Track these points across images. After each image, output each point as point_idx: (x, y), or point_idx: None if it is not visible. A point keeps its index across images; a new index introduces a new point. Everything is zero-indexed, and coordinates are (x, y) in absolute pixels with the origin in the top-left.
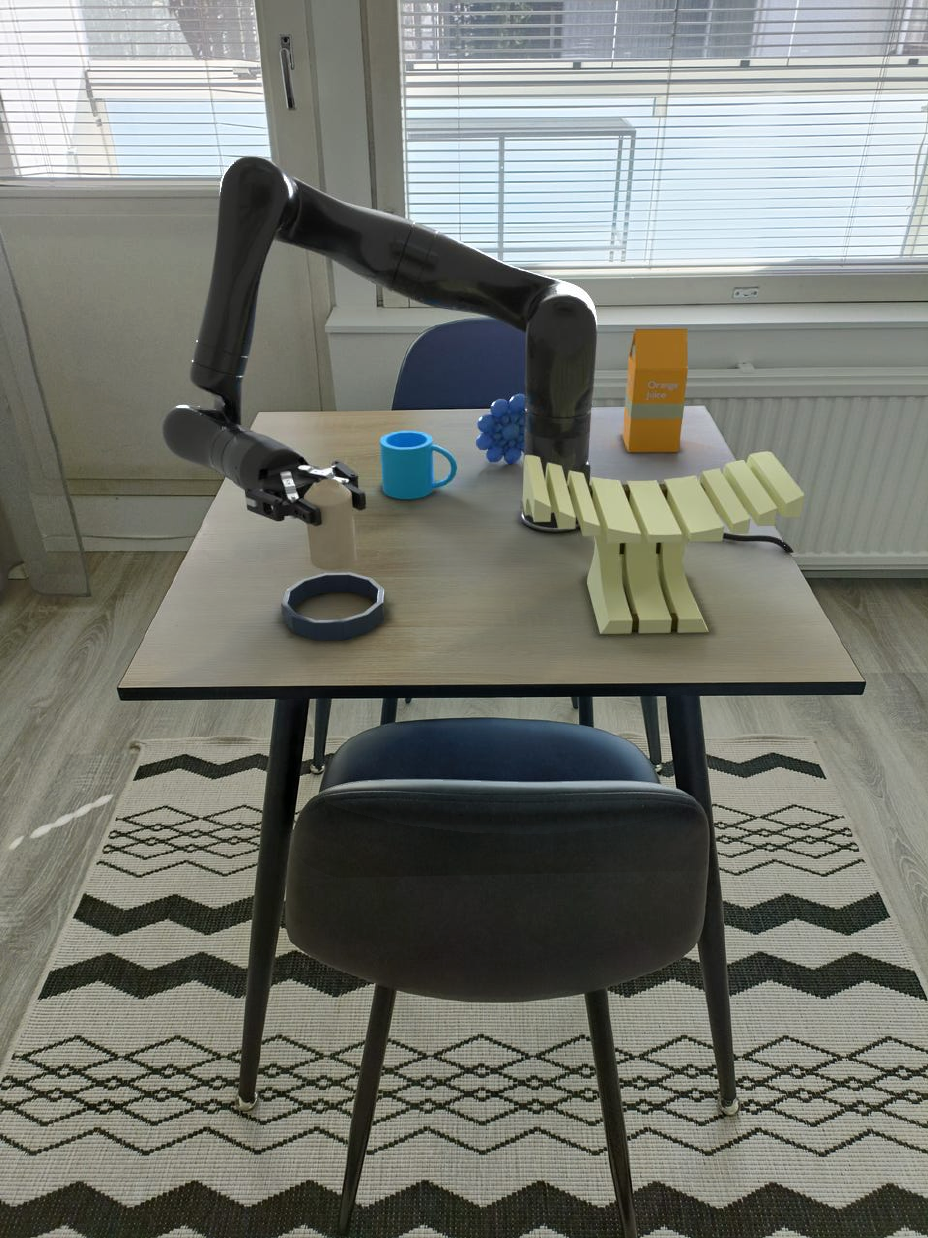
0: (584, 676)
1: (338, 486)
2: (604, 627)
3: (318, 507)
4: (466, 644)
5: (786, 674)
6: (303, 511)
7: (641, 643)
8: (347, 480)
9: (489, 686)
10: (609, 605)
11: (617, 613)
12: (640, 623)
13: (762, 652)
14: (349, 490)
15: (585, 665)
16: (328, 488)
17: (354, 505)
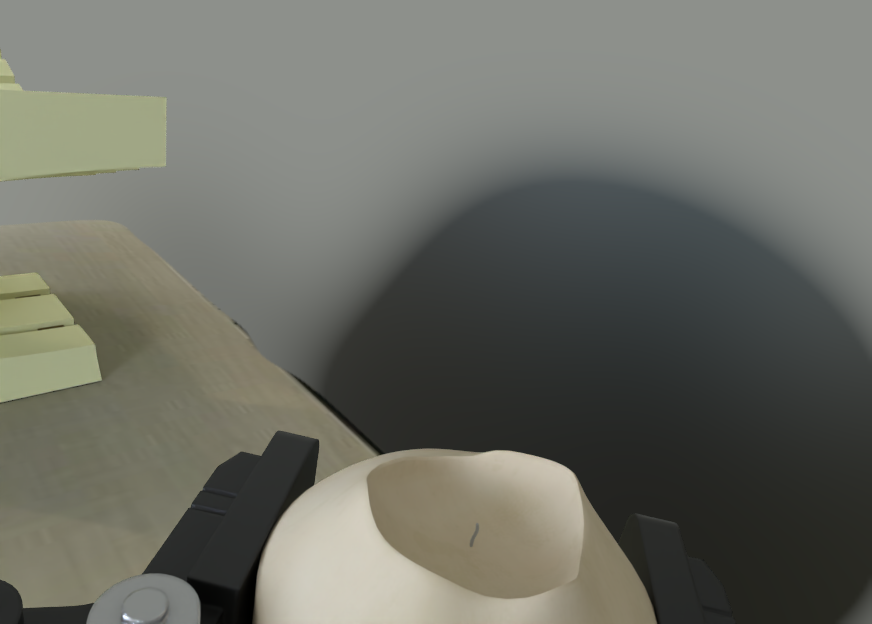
0: (262, 372)
1: (394, 481)
2: (93, 366)
3: (638, 516)
4: None
5: (130, 246)
6: (727, 607)
7: (111, 339)
8: (127, 591)
9: None
10: (27, 350)
11: (59, 340)
12: (73, 324)
13: (78, 258)
14: (309, 490)
15: (228, 376)
16: (443, 551)
17: None
